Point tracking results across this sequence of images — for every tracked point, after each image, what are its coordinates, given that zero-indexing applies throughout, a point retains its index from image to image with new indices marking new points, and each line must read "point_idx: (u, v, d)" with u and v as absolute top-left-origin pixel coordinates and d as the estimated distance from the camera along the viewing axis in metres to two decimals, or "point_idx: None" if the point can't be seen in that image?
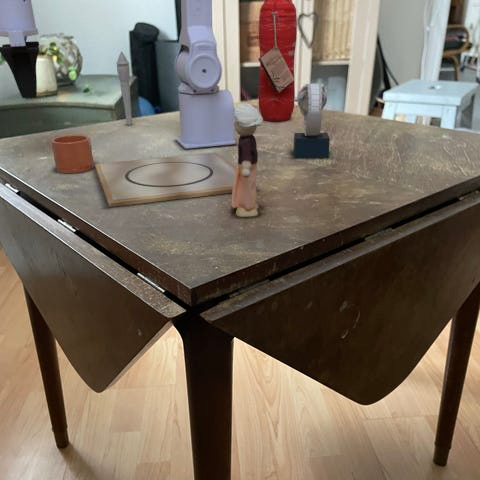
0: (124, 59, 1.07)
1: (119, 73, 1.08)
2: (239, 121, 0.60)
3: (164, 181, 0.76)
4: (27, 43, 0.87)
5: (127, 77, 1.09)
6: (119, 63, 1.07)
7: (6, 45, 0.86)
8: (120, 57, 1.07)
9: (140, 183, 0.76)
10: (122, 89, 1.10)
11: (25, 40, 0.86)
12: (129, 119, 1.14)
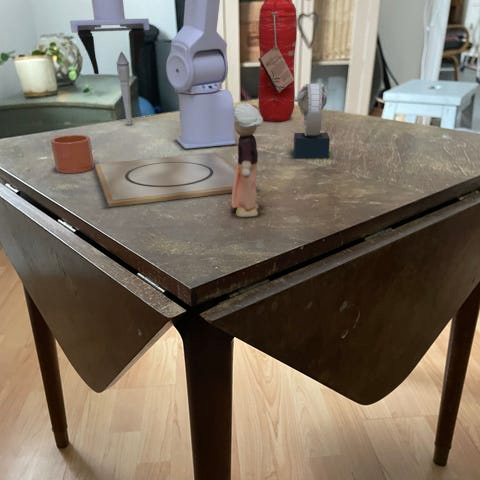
0: (124, 59, 1.07)
1: (119, 73, 1.08)
2: (239, 121, 0.60)
3: (164, 181, 0.76)
4: (131, 32, 1.04)
5: (127, 77, 1.09)
6: (119, 63, 1.07)
7: (130, 32, 1.06)
8: (120, 57, 1.07)
9: (140, 183, 0.76)
10: (122, 89, 1.10)
11: (132, 29, 1.04)
12: (129, 119, 1.14)
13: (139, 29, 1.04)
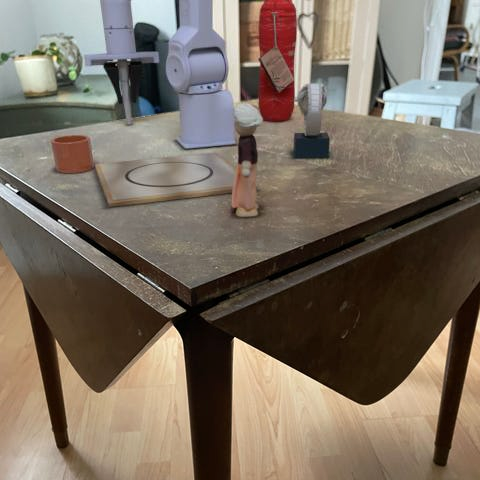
0: (124, 59, 1.07)
1: (119, 73, 1.08)
2: (239, 121, 0.60)
3: (164, 181, 0.76)
4: (130, 65, 1.08)
5: (127, 77, 1.09)
6: (119, 63, 1.07)
7: None
8: None
9: (140, 183, 0.76)
10: (122, 89, 1.10)
11: (130, 63, 1.08)
12: (129, 119, 1.14)
13: (137, 62, 1.08)
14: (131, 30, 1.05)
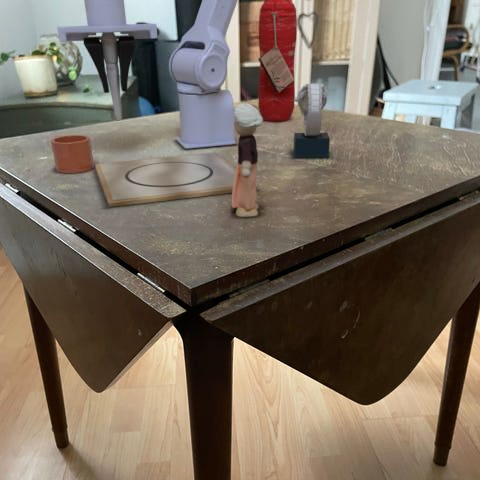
0: (110, 33, 0.81)
1: (104, 52, 0.82)
2: (239, 121, 0.60)
3: (164, 181, 0.76)
4: (119, 42, 0.82)
5: (115, 57, 0.83)
6: (104, 38, 0.81)
7: None
8: None
9: (140, 183, 0.76)
10: (109, 74, 0.84)
11: (119, 38, 0.82)
12: (118, 113, 0.87)
13: (128, 38, 0.82)
14: None
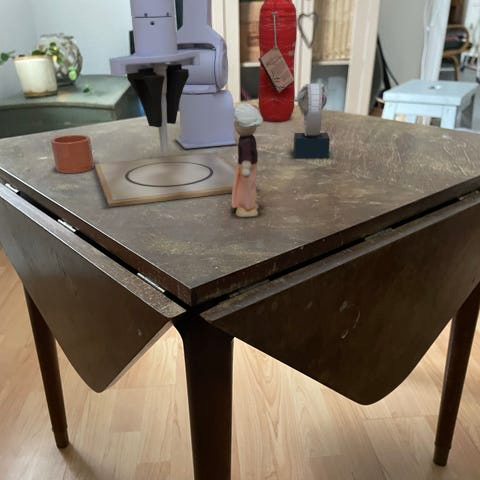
0: None
1: None
2: (239, 121, 0.60)
3: (164, 181, 0.76)
4: (170, 71, 0.75)
5: (166, 88, 0.76)
6: (158, 68, 0.73)
7: None
8: None
9: (140, 183, 0.76)
10: None
11: (170, 67, 0.75)
12: (166, 147, 0.80)
13: (177, 66, 0.76)
14: None
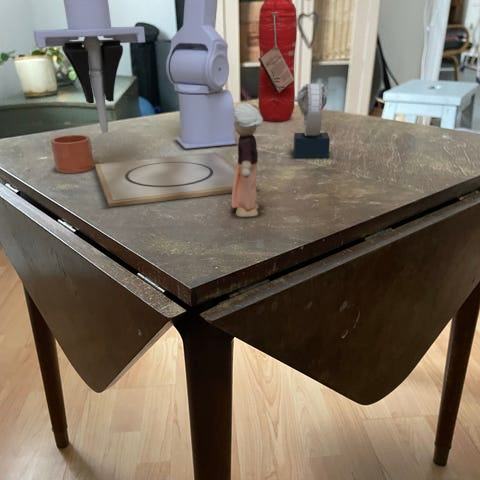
0: (94, 37, 0.73)
1: (88, 58, 0.74)
2: (239, 121, 0.60)
3: (164, 181, 0.76)
4: (104, 47, 0.74)
5: (100, 64, 0.75)
6: (87, 43, 0.73)
7: None
8: None
9: (140, 183, 0.76)
10: (94, 82, 0.76)
11: (104, 43, 0.74)
12: (104, 125, 0.79)
13: (114, 42, 0.74)
14: None
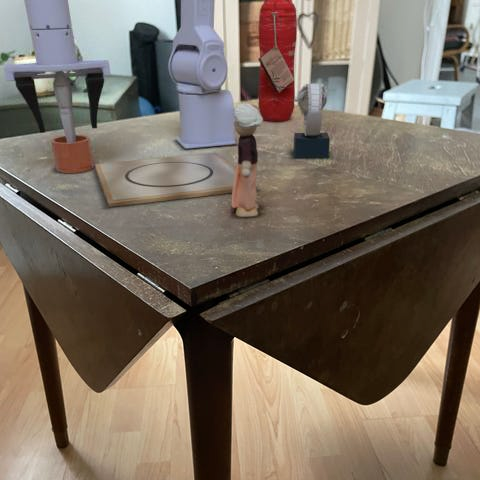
0: (63, 78, 0.78)
1: (57, 97, 0.80)
2: (239, 121, 0.60)
3: (164, 181, 0.76)
4: (87, 79, 0.79)
5: (69, 102, 0.80)
6: (56, 83, 0.78)
7: (86, 77, 0.82)
8: (57, 75, 0.78)
9: (140, 183, 0.76)
10: (63, 119, 0.81)
11: (87, 75, 0.79)
12: None
13: (97, 75, 0.80)
14: (68, 31, 0.75)
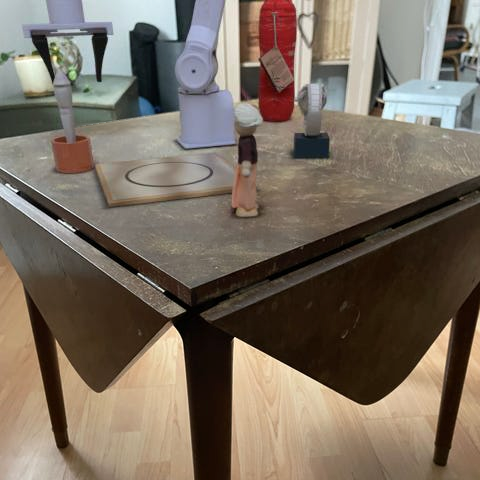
0: (63, 78, 0.78)
1: (57, 97, 0.80)
2: (239, 121, 0.60)
3: (164, 181, 0.76)
4: (93, 37, 0.92)
5: (69, 102, 0.80)
6: (56, 83, 0.78)
7: None
8: (57, 75, 0.78)
9: (140, 183, 0.76)
10: (63, 119, 0.81)
11: (93, 34, 0.92)
12: None
13: (101, 34, 0.92)
14: None
